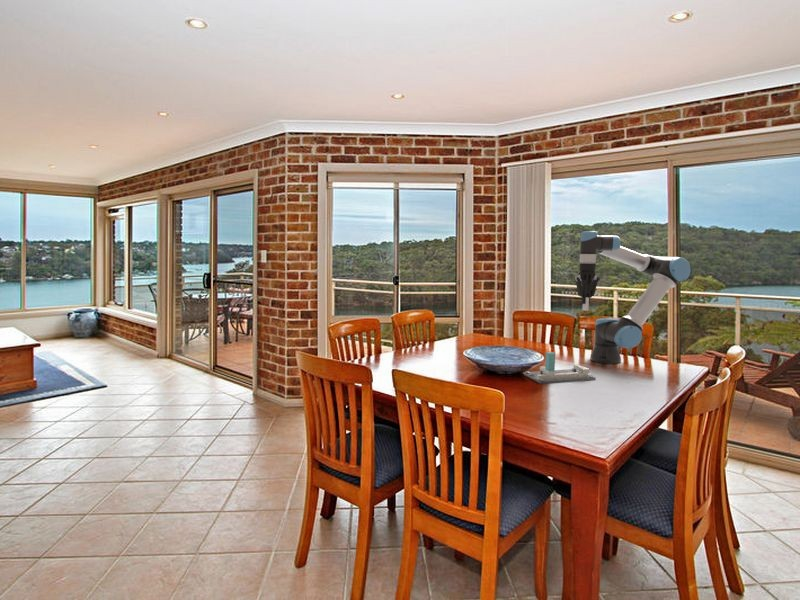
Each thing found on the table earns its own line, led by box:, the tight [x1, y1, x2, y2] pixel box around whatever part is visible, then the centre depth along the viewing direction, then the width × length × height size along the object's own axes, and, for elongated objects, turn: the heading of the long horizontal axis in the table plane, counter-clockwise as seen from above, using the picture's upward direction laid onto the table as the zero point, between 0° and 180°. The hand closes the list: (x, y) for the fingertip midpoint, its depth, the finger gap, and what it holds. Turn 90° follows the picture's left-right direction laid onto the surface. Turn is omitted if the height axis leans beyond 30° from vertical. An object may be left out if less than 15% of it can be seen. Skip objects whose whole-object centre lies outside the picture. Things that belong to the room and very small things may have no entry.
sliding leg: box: [539, 351, 556, 375], centre depth 216 cm, size 3×10×12 cm, turn 13°
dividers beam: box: [537, 363, 591, 380], centre depth 218 cm, size 25×10×4 cm, turn 103°
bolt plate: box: [522, 367, 596, 385], centre depth 221 cm, size 28×16×2 cm, turn 103°
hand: (585, 310), depth 234 cm, fingers closed
